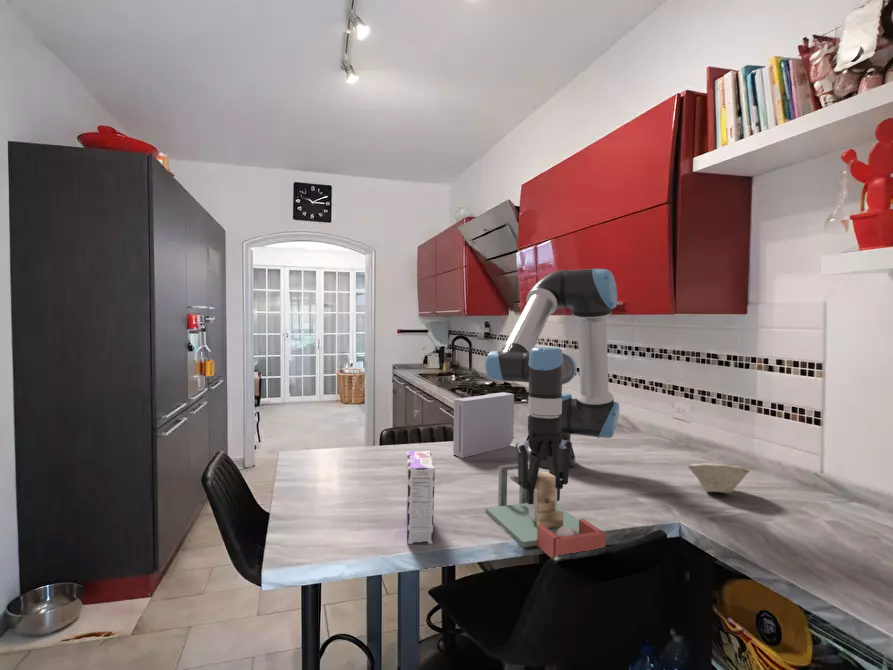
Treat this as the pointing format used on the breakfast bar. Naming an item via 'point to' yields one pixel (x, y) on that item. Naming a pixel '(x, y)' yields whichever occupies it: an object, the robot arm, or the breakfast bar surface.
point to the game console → (483, 423)
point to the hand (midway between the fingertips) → (542, 516)
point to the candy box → (420, 497)
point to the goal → (570, 540)
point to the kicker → (545, 500)
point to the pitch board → (526, 522)
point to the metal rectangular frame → (503, 486)
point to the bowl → (718, 476)
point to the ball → (564, 532)
